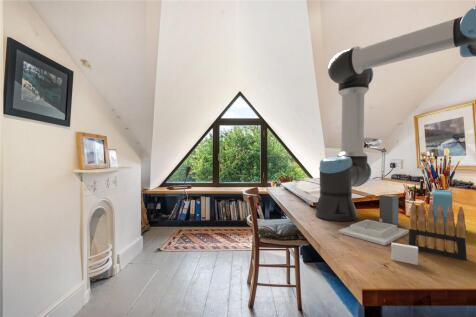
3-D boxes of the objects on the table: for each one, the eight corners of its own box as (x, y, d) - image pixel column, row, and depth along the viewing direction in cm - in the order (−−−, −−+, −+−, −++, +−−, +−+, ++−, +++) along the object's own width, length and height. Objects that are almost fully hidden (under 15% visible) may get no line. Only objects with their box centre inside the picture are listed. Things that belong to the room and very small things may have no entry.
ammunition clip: (408, 248, 60) (408, 201, 59) (409, 246, 61) (409, 200, 61) (466, 261, 52) (466, 207, 52) (466, 258, 54) (466, 206, 54)
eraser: (418, 265, 51) (418, 248, 51) (391, 260, 53) (391, 244, 53) (417, 263, 52) (417, 246, 52) (391, 258, 54) (391, 242, 54)
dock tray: (338, 232, 72) (338, 221, 72) (365, 223, 82) (365, 213, 82) (384, 245, 62) (384, 232, 62) (408, 232, 72) (408, 221, 72)
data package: (452, 234, 70) (452, 194, 70) (432, 231, 73) (432, 193, 73) (451, 225, 79) (451, 190, 79) (434, 223, 82) (434, 189, 82)
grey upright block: (379, 224, 81) (379, 195, 81) (385, 221, 84) (385, 193, 84) (392, 226, 78) (392, 196, 78) (398, 224, 81) (398, 195, 81)
